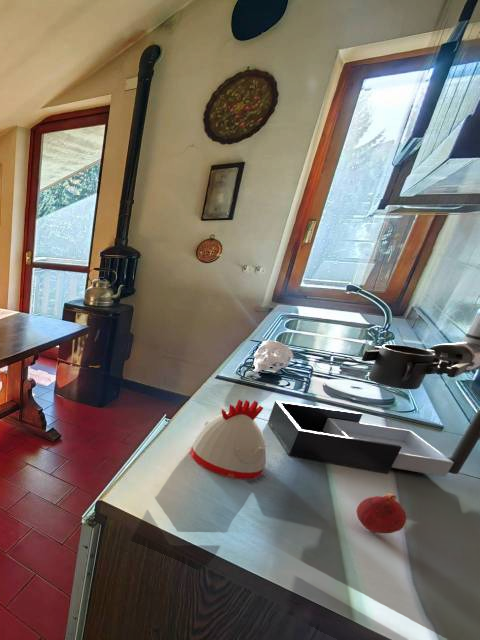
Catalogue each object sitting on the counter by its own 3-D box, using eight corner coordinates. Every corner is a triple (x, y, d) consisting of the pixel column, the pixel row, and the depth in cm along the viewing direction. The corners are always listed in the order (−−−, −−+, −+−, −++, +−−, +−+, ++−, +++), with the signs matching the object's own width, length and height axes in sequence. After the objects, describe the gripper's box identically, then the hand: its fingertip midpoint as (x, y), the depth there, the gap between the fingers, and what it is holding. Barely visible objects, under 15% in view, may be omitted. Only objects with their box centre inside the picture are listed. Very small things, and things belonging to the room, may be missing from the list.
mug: (373, 387, 98) (389, 353, 95) (364, 373, 107) (378, 342, 104) (427, 396, 93) (445, 361, 90) (412, 381, 102) (428, 348, 99)
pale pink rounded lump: (240, 366, 143) (257, 336, 142) (250, 378, 151) (265, 351, 151) (273, 374, 134) (291, 343, 134) (281, 387, 143) (298, 358, 143)
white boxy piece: (417, 445, 93) (448, 388, 87) (461, 479, 81) (500, 416, 75) (322, 430, 99) (345, 376, 94) (349, 460, 87) (377, 399, 81)
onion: (391, 549, 64) (413, 511, 61) (345, 528, 68) (364, 492, 65) (398, 534, 67) (419, 497, 64) (354, 515, 72) (372, 479, 69)
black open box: (350, 436, 99) (361, 412, 96) (387, 474, 84) (402, 447, 81) (267, 423, 105) (275, 400, 102) (288, 456, 90) (298, 430, 87)
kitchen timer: (278, 479, 82) (302, 416, 76) (213, 479, 81) (233, 415, 76) (235, 444, 94) (254, 387, 89) (179, 443, 94) (194, 387, 88)
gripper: (506, 387, 94) (439, 394, 89) (394, 357, 114) (335, 362, 109) (524, 357, 91) (456, 363, 86) (406, 332, 111) (345, 336, 106)
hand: (388, 362), depth 98 cm, fingers closed on mug, 10 cm apart
